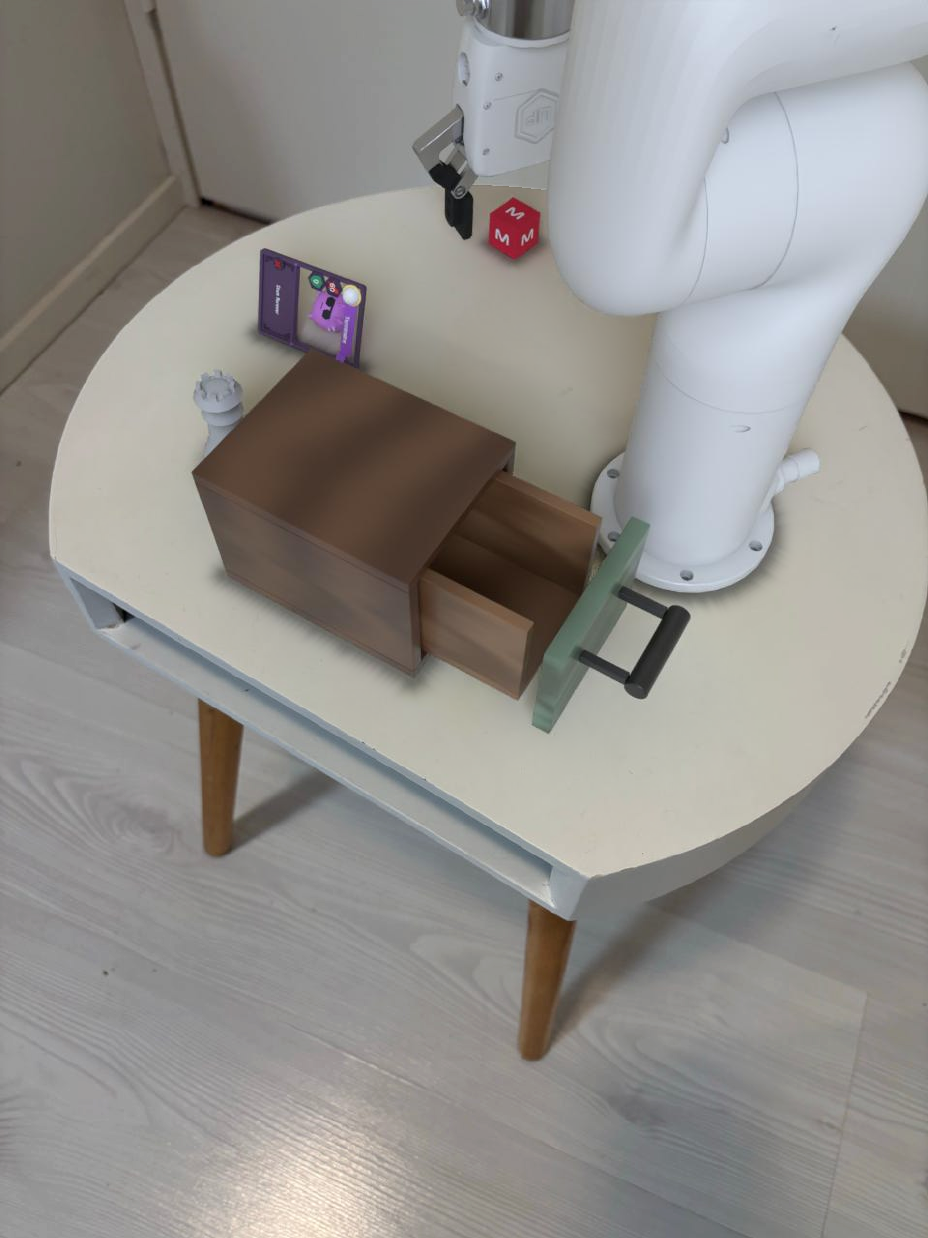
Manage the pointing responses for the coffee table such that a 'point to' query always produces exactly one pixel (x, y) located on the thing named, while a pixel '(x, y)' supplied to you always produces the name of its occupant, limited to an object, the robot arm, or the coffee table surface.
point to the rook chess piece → (218, 405)
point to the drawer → (538, 598)
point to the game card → (328, 307)
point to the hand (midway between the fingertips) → (512, 212)
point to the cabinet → (346, 500)
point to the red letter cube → (514, 228)
